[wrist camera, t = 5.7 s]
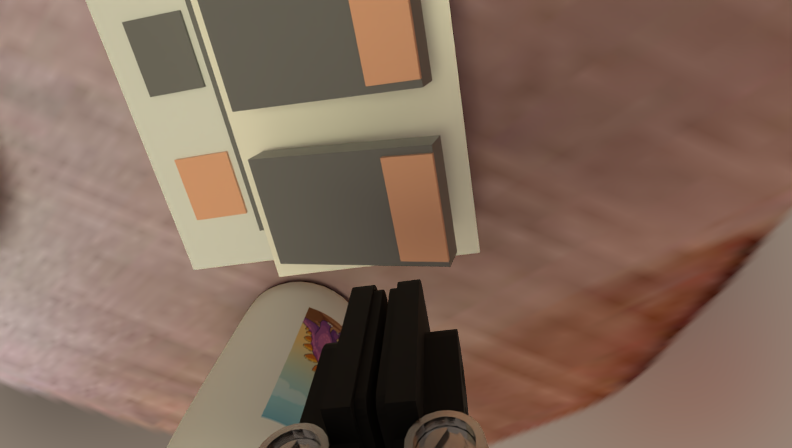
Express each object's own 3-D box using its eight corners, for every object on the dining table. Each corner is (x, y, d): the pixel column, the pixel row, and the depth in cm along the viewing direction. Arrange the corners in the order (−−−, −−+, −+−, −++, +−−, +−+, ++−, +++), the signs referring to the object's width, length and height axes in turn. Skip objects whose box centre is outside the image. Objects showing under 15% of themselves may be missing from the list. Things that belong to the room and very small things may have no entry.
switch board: (402, -353, 18) (389, -485, 13) (475, 228, 28) (483, 277, 23) (5, -231, 20) (-132, -304, 15) (199, 263, 30) (153, 314, 25)
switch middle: (408, -81, 15) (394, -85, 14) (432, 80, 17) (421, 88, 16) (210, -28, 18) (185, -27, 17) (250, 104, 20) (230, 112, 19)
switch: (440, 135, 18) (430, 145, 17) (457, 251, 20) (449, 268, 19) (263, 150, 21) (245, 160, 20) (293, 251, 23) (278, 265, 22)
